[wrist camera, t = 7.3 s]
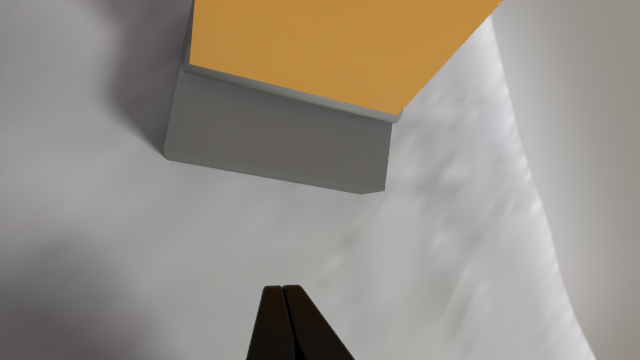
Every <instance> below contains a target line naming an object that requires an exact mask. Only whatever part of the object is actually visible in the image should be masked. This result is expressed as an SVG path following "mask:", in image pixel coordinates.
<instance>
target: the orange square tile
mask: <svg viewBox="0 0 640 360" xmlns="http://www.w3.org/2000/svg"><path fill="white" fill-rule="evenodd" d="M502 1H503V0H195V5H194V16H193V28H192V40H191V45H188V48H187V52H186V57H185V64H184V73H188V74H192V75H196V76H200V77H204V78H208V79H213V80H217V81H221V82H225V83H229V84H233V85H238V86H242V87H246V88H250V89H254V90H258V91H262V92H267V93H271V94H275V95H279V96H283V97H287V98H292V99H296V100H300V101H304V102H308V103H312V104H316V105H321V106H325V107H329V108H333V109H337V110H341V111H345V112H350V113H354V114H358V115H362V116H366V117H370V118H375V119H379V120H383V121H387V122H391V123H396V122H398V120H399V119H400V117H401V115H402V111H403V109H404V108H405V106H406V105H407V104H408V103H409V102H410V101H411V100H412V99H413V98H414V97H415V96H416V95H417V93H418V92H419V91H420V90H421V89H422V88H423V87H424V86H425V85H426V84H427V83H428V81H429V80H430V79H431V78H432V77H433V76H434V75H435V74H436V73H437V72H438V71H439V69H440V68H441V67H442V66H443V65H444V64H445V63H446V62H447V61H448V60H449V59H450V57H451V56H452V55H453V54H454V53H455V52H456V51H457V50H458V49H459V48H460V47H461V45H462V44H463V43H464V42H465V41H466V40H467V39H468V38H469V37H470V36H471V35H472V34H473V32H474V31H475V30H476V29H477V28H478V27H479V26H480V25H481V24H482V23H483V22H484V20H485V19H486V18H487V17H488V16H489V15H490V14H491V13H492V12H493V10H494V9H495V8H496V7H497V6H498V5H499V4H500V3H501V2H502Z"/></svg>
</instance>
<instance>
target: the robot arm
mask: <svg viewBox="0 0 640 360" xmlns="http://www.w3.org/2000/svg"><path fill="white" fill-rule="evenodd" d="M246 360H355V359H354V358H353V356H352V355H351V354H350V352H349V351H348V350H347V348H346V347H345V345H344V344H343V343H342V341H341V340H340V339H339V337H338V336H337V335H336V333H335V332H334V330H333V329H332V328H331V326H330V325H329V324H328V322H327V321H326V319H325V318H324V317H323V315H322V314H321V313H320V311H319V310H318V309H317V307H316V306H315V304H314V303H313V302H312V300H311V299H310V298H309V296H308V295H307V293H306V292H305V291H304V289H303V288H302V287H301V286H300V285H284V286H283V287H281V286H279V285H277V286H265V287H264V289H263V292H262V297H261V301H260V305H259V309H258V313H257V317H256V321H255V325H254V329H253V333H252V337H251V341H250V346H249V350H248V354H247V358H246Z"/></svg>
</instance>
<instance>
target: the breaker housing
mask: <svg viewBox="0 0 640 360" xmlns="http://www.w3.org/2000/svg"><path fill="white" fill-rule="evenodd" d="M194 5H195V0H193V2H192V7H191V12H190V17H189V22H188V27H187V32H186V37H185V42H184V47H183V52H182V57H181V62H180V67H179V72H178V77H177V82H176V87H175V92H174V97H173V102H172V107H171V112H170V117H169V122H168V127H167V132H166V137H165V143H164V148H163V151H164V154H165V156H166V159H167V160H171V161H177V162H182V163H188V164H194V165H199V166H205V167H211V168H216V169H222V170H227V171H233V172H239V173H244V174H250V175H255V176H261V177H267V178H272V179H278V180H284V181H289V182H295V183H300V184H306V185H312V186H317V187H323V188H329V189H334V190H340V191H345V192H351V193H357V194H367V193H373V192H380V191H385V182H386V173H387V165H388V156H389V147H390V138H391V130H392V123H391V122H387V121H383V120H379V119H375V118H370V117H366V116H362V115H358V114H354V113H350V112H345V111H341V110H337V109H333V108H329V107H325V106H321V105H316V104H312V103H308V102H304V101H300V100H296V99H292V98H287V97H283V96H279V95H275V94H271V93H267V92H262V91H258V90H254V89H250V88H246V87H242V86H238V85H233V84H229V83H225V82H221V81H217V80H213V79H208V78H204V77H200V76H196V75H192V74H188V73H184V64H185V57H186V52H187V48H188V45H191V40H192V28H193V16H194Z"/></svg>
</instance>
